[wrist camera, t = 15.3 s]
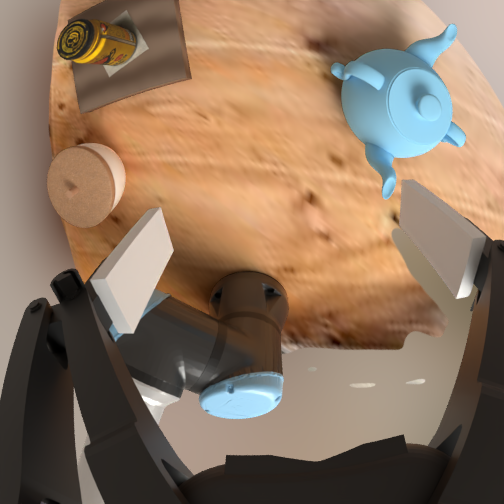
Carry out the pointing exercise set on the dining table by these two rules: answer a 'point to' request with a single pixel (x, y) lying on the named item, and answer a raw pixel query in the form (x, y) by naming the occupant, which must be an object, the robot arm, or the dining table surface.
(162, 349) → the robot arm
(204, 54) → the dining table surface
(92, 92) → the grey flat square piece
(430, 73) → the teapot
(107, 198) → the lidded bowl
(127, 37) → the condiment
